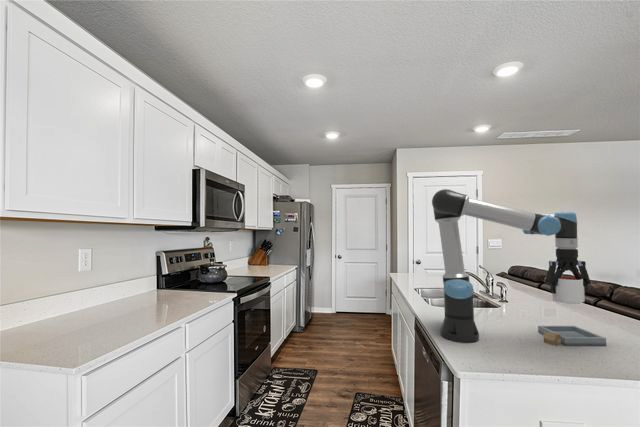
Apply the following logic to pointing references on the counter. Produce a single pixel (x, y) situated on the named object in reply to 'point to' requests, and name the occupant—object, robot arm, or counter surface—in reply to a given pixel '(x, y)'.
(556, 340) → the oak block
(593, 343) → the tray
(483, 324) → the counter surface
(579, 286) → the cup
